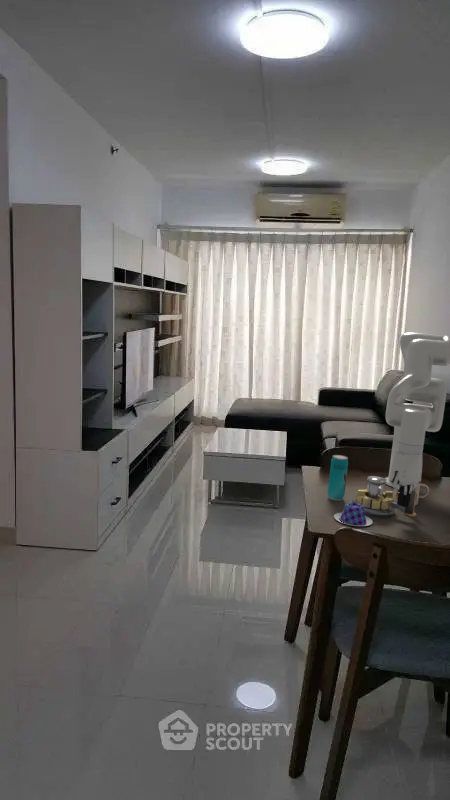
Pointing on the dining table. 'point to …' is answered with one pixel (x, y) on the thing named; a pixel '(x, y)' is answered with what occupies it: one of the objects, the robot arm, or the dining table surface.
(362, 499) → the segmented ring with handle
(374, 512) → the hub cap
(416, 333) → the robot arm
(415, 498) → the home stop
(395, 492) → the teacup with lid
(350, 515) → the pudding
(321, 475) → the dining table surface
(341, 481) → the beverage can
